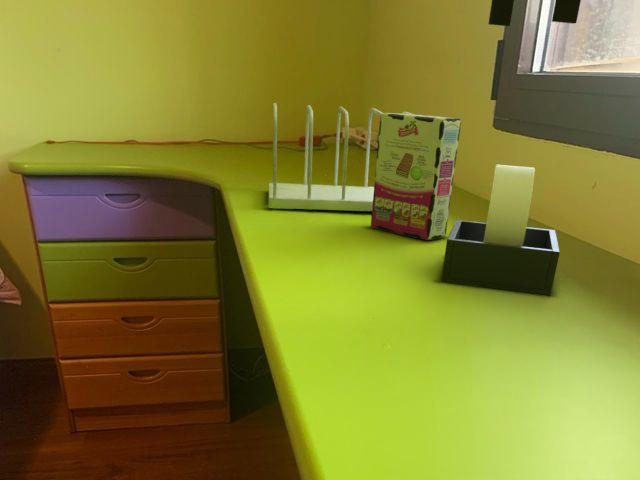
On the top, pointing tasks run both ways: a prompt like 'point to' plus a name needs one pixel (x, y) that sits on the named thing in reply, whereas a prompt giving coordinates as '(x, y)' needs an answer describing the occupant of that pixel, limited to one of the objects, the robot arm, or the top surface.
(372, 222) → the candy bar box
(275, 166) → the file sorter
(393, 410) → the top surface
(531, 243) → the tote
